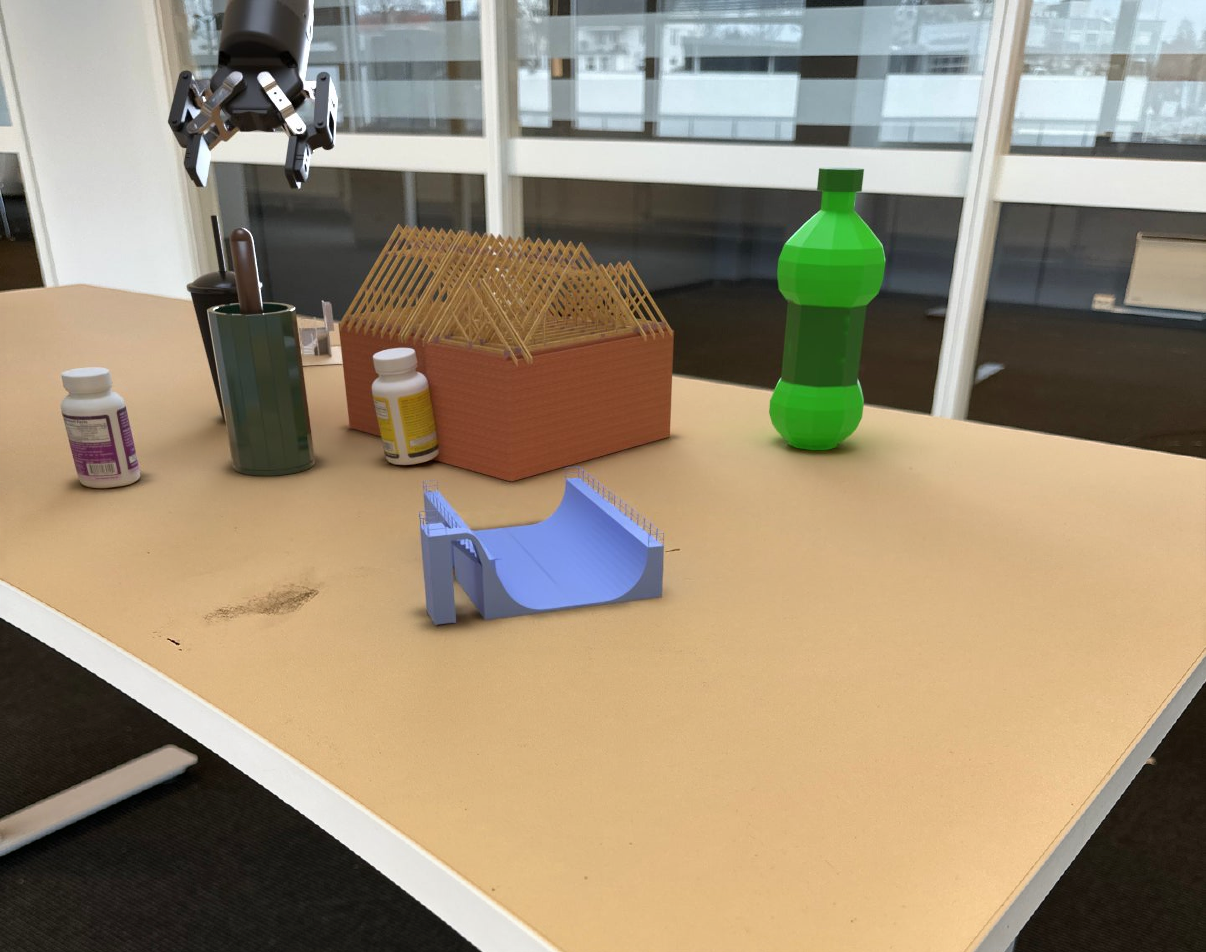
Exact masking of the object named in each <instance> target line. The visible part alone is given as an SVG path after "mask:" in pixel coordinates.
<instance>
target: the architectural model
mask: <svg viewBox="0 0 1206 952" xmlns="http://www.w3.org/2000/svg"><path fill="white" fill-rule="evenodd" d="M321 306H322V313H323V322H324V326H321V327H317V319H316V316H314V317H299V320H300V322H302V320H306V321H304V322H302V323H300V326H298V332H299V340H300V348H301V356H302V364H303V367H304V366H305V367H306V366H323V365H324V366H325V365H340V364H342V365H343V362H342V353H341V345H336V346H335V345H334V346H333V345H331V337H330V332H335V325H334V324H335V323H334V316H333V314H334V313H333V307H332V303H331V302H330V301H324V300H321ZM312 321H313V323H314V325H313V326H311V327H303V326H305V325H307V324H309V323H310V322H312Z"/></svg>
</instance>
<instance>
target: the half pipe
mask: <svg viewBox="0 0 1206 952" xmlns="http://www.w3.org/2000/svg"><path fill="white" fill-rule="evenodd" d="M572 468H575V466H571V467H570V466H569V467H568V469H572ZM564 469H565V475H567V474H569V472H567V467H564ZM577 469H578V471H575V472H572V474H577V473H578V474H577V475H578V477H568V478H567V477H566V478H565V483H564V484H565V485H564V494H563V496H562V499H561V501H560V504H559V505H558V507H557V508H556V509H555V511H554V512H553V513H552V514H551V515H550V516H548V517H547V518H546V519H544V520H542V521H539V522H536V523H533V524H527V525H526V524H525V525H517V526H508V527H506V526H505V527H498V528H497V527H496V528H488V529H479V530H472V529H471V528H470V527H469V525H468V524H466V522H465V521H464V520H463V518H461V516H460V515H459V513H457V511H456V510H455V509H454V508H453V506H452V505H451V504H450V503H449V502H448V500H447V499H446V498H445V497H444V496H443V494H442V493H441V492H440V491H439V485H438V482H436V485H433V487H437V489H436V490H431V489H430V485H427V484H426V483H425V480H422V489H423V493H422V494H423V506H424V510H422V511H421V510H420V511H419V512H418V515H419V516H418V517H419V531H420V533H419V534H420V545H421V555H422V556H421V558H422V568H423V581H424V594H425V605H426V607H425V608H426V613H427V614H428V616H429V617H430V619H431V621H432V622H433V624H434V627H438V626H439V625H445V624H454V625H455V624H456V625H457V615H456V614H457V613H456V600H455V586H454V585H455V584H454V578H455V580H456V581H457V582H458V584H459V585H460V587H461V588H462V590H463V592H465V593H466V596H467V597H468V598H469V600H470V601H471V602H472V604H473V605H474V607H475V608H476V610H477V611H478V612H479V613H480V615H481V616H482V618H483V619H484V620H485V621H489V620H496V619H504V618H513V617H519V616H528V615H535V614H542V613H550V612H551V613H552V612H557V611H565V610H572V609H574V610H575V609H580V608H588V607H594V606H595V607H596V606H603V605H611V604H619V603H626V602H627V603H628V602H633V601H642V600H650V599H657V598H662V597H663V584H664V583H663V581H664V558H665V557H664V556H665V555H664V554H665V545H664V544H665V543H664V541H665V540H664V539H665V535H664V534H665V533H664V532H663V531H662V530H660V529H659V528H658V527H656V526H655V525H654V524H653V523H651V521H648V520H647V519H646V518H645V517H644V516H642V514H640V513H639V512H637V510H635V509H633V507H631V506H629V505H628V504H627V503H626V502H625V501H623V500H622V499H621V498H619V497H618V495H616V494H614V493H613V492H612V491H610V489H608V488H607V487H605V486H604V485H603V484H602V483H600V482H599V481H598V480H596V479H595V478H594V477H593V476H591V475H590V474H589V473H587V472H586V471H585V470H584V469H582V468H581V467H580V466H577ZM580 470H582V473H581V472H580ZM585 473H586V474H587V477H586V476H584V474H585ZM580 475H581V476H582V478H581V477H580ZM589 477H591V478H592V481H591V480H590V479H589ZM584 478H585V479H587V482H586V481H585V479H584ZM431 481H434V479H427V480H426V482H431ZM594 481H596V482H597V485H596V484H595V483H594ZM589 482H590V483H591V484H592V486H591V485H590V484H589ZM600 485H601V486H602V487H603V488H602V489H601V488H600ZM594 487H596V488H597V490H595V488H594ZM605 489H606V490H607V491H608V492H610V493H611V494H612V495H613V498H612V497H611V496H609V494H607V493H606V492H605ZM600 491H601V492H602V494H601V493H600ZM605 495H606V497H607V496H608V497H609V499H611V500H612V501H613V503H612V502H610V500H609V499H607V498H605ZM616 498H617V499H619V503H618V502H617V501H616ZM621 502H622V503H624V504H625V507H623V506H622V505H621ZM616 504H618V505H619V507H617V506H616ZM627 506H628V507H629V508H630V509H631V510H630V511H628V510H627ZM620 508H623V509H624V511H625V513H624V512H623V511H622V510H621V509H620ZM633 511H634V512H635V513H636V514H637V517H636V516H635V515H633ZM627 512H628V513H629V514H630V517H629V516H628V515H627ZM422 513H424V516H423V515H422ZM639 516H640V517H642V519H643V521H641V520H640V519H639ZM633 517H634V518H635V519H636V521H637V522H635V521H634V520H633ZM645 521H647V522H648V523H649V526H647V525H646V524H645ZM639 522H640V524H643V528H642V526H640V524H639ZM652 526H653V527H654V528H656V531H654V530H652ZM645 528H648V529H649V532H648V531H646V530H645ZM658 531H659V532H660V534H658ZM652 532H653V534H652ZM660 535H663V536H660ZM654 536H655V537H656V538H655V537H654ZM658 537H659V538H660V540H661V541H662V543H661V541H660V540H659V539H658ZM453 570H454V571H453ZM454 576H455V577H454Z"/></svg>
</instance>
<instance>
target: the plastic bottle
mask: <svg viewBox="0 0 1206 952" xmlns="http://www.w3.org/2000/svg"><path fill="white" fill-rule="evenodd" d="M864 174H865V168H857V167H818V174H817V175H818V176H817V185H816V191H819V192H822V193H821V203H820V209H819V211H817V213H815V214H814V215H813V216H811V218H810V219H808V220H807V221H806V222H805V223H804V224H803V225H802V226H801V227H800V228H799V229H798V230H797V231H796V232H794V234H793V235H792V236H790V238H789V239H788V240H787V241H786V242H785V243H784V245H783V247H782V250H781V252H780V254H779V257H778V258H777V259H778V261H777V272H776V275H777V276H776V277H777V284H778V291H779V292H780V293H781V295H782V296H783V298H784V299H785V301H786V302H787V309H786V322H785V331H784V341H783V352H782V353H783V354H782V364H781V365H782V366H781V375H780V378H779V380H778V382H777V383H776V385H775V388H774V390H773V393H772V395H771V397H770V400H769V410H768V414H769V418H770V421H771V424H772V426H773V427H774V429H775V430H776V432H777V433H778V434H779V435H780V436H781V437H782V438H783V440H786V441H787V445H789V446H791V447H793V448H795V449H801V450H807V451H828V450H832V449H835V448H837V447H838V444H841V443H843V442H844V441H845V440H847V438H849V437H850V436H851V435H852V434H853V433H855V431H856V430H857V428H858V427H859V425H860V423H861V421H862V418H863V413H864V403H865V397H864V394H863V389H862V385H861V382H860V380H859V370H860V362H861V354H862V346H863V339H864V330H865V321H866V313H867V306H868V305H869V304H870V302H872V300H874V299H875V297H877V295H878V294H879V293H880V290H881V286H882V284H883V280H884V275H885V270H886V269H885V268H886V255H885V251H884V246H883V243H882V242H881V241H880V239H879V238H878V237H877V235H876V234H875V233H874V231H872V229H871V228H870V227H869V224H867V223H866V221H864V219H863V218H861V216H860V215H859V213H857V212H856V211H855V204H856V197H857V193H860V192H862V191H863V183H864Z"/></svg>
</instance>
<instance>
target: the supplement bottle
mask: <svg viewBox="0 0 1206 952" xmlns="http://www.w3.org/2000/svg"><path fill="white" fill-rule="evenodd" d="M373 361H374V367H375V369H376V370H375V371H376V373H378V374H379V377H378V378H377V379H376V380H375V381H374V382H373V384H372V394H373V399H374V404H375V409H376V414H377V419H378V423H379V428H380V433H381V436H380V438H381V442H382V447H383V448H382V449H383V453H384V456H385V459H386V460H387V462H389V463H391V464H392V465H397V466H398V465H399V466H409V465H416V464H422V463H426V462H429V461H432V460H433V458H435V457H436V456H437V455H438V453H439V449H438V441H437V434H436V427H435V421H434V414H433V408H432V402H431V396H430V390H429V385H428V381H427V379H426V377H425V376H424V375H423V374H421V373H419V372H416V367H417V358H416V353H415V350H414V349H411V348H394V349H388V350H383V351H380V352H378V353H376V354H374V355H373Z"/></svg>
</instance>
